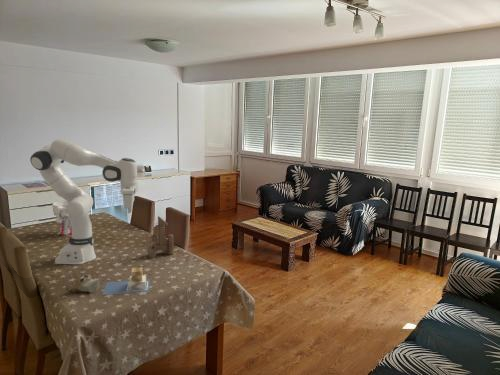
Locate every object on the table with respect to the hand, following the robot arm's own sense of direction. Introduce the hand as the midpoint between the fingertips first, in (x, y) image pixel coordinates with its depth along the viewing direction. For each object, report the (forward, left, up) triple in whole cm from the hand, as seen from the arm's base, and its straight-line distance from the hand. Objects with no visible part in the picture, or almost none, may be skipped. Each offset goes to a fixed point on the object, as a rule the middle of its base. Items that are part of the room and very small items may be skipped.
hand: (129, 212), depth 198 cm
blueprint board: (0, -23, -34) cm, 41 cm away
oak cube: (+5, -23, -29) cm, 37 cm away
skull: (-50, +72, -34) cm, 94 cm away
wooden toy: (+16, +22, -34) cm, 44 cm away
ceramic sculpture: (-20, -22, -34) cm, 46 cm away
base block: (+5, -23, -33) cm, 41 cm away
